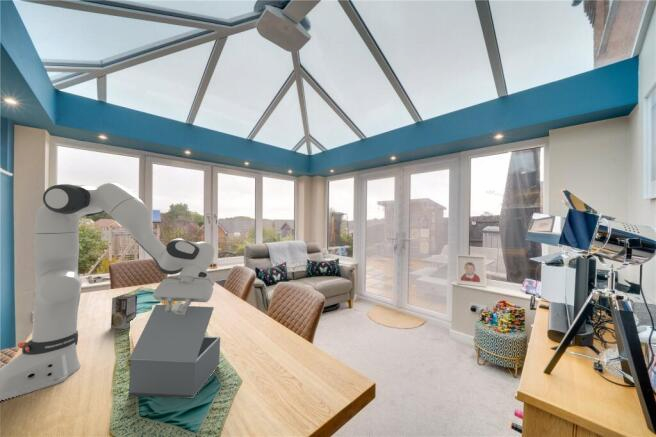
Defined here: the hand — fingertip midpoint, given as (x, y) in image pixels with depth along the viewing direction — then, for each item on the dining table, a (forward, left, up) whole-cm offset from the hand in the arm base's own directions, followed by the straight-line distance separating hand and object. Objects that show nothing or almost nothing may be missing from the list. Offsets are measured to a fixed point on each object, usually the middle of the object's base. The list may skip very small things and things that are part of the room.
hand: (173, 311), depth 84 cm
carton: (+4, +2, -27) cm, 27 cm away
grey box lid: (+1, +1, -8) cm, 8 cm away
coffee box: (+14, +71, -27) cm, 78 cm away
